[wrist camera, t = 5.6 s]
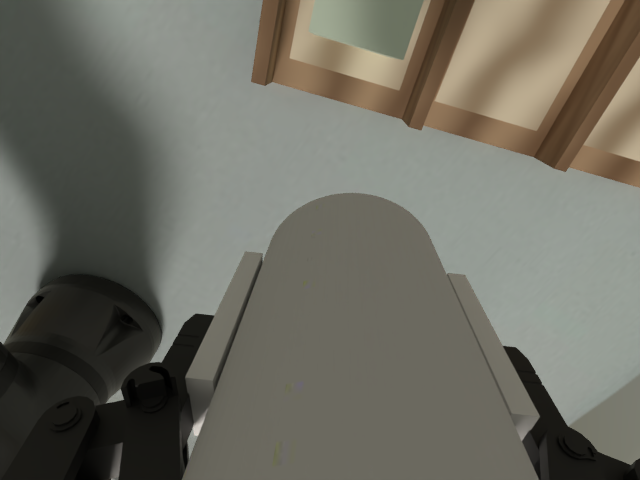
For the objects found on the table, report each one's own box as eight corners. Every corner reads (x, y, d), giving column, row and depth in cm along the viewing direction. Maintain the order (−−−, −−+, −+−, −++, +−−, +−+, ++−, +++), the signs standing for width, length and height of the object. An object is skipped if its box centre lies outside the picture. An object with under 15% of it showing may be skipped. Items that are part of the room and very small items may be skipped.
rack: (262, 77, 28) (251, 81, 25) (300, -160, 22) (292, -204, 18) (655, 190, 32) (699, 210, 28) (796, 15, 25) (880, 9, 21)
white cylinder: (234, 274, 17) (65, 629, 7) (344, 154, 14) (349, 486, 3) (352, 354, 19) (363, 712, 9) (471, 268, 16) (707, 674, 6)
